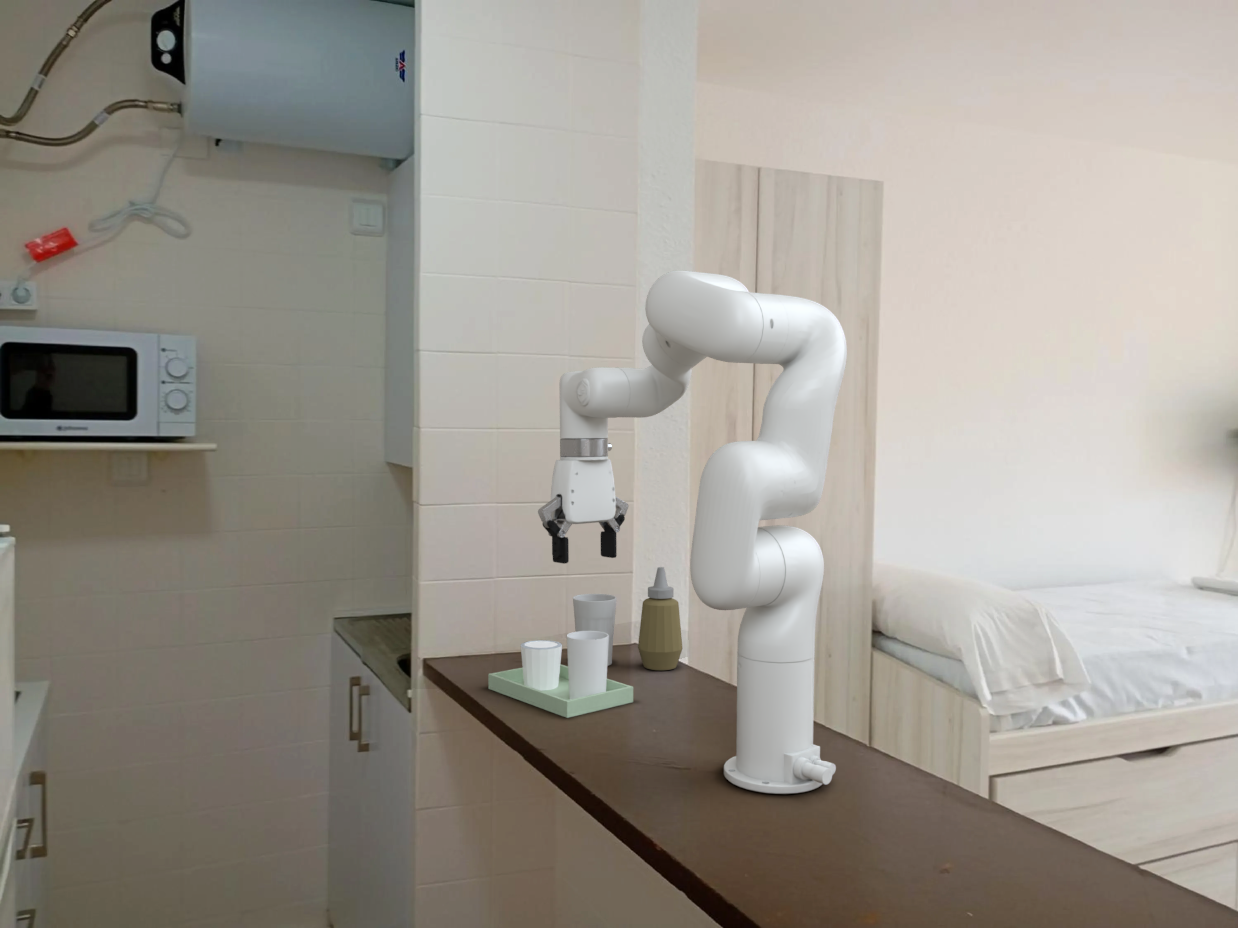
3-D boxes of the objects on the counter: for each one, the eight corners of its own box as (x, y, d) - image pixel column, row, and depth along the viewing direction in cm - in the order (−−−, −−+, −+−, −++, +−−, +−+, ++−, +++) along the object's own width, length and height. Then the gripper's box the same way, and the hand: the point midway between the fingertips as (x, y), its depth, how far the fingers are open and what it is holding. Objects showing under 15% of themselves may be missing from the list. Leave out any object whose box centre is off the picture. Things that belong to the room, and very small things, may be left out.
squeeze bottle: (653, 659, 191) (654, 562, 190) (691, 666, 186) (692, 566, 185) (628, 668, 184) (629, 568, 183) (666, 675, 179) (667, 572, 178)
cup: (618, 658, 192) (618, 594, 191) (613, 668, 184) (614, 602, 183) (575, 657, 192) (576, 593, 192) (569, 667, 184) (569, 600, 184)
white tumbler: (600, 690, 167) (600, 629, 167) (614, 701, 161) (614, 638, 161) (561, 694, 165) (561, 632, 165) (573, 705, 159) (573, 641, 158)
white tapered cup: (560, 691, 167) (560, 648, 166) (518, 691, 167) (518, 648, 166) (563, 680, 173) (563, 639, 173) (522, 680, 174) (522, 639, 173)
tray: (633, 702, 163) (633, 686, 163) (567, 718, 154) (567, 701, 154) (552, 675, 179) (552, 661, 179) (488, 688, 170) (488, 673, 170)
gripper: (610, 449, 170) (611, 553, 170) (524, 451, 158) (526, 562, 159) (641, 449, 164) (641, 557, 165) (554, 452, 153) (555, 567, 153)
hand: (585, 559), depth 162 cm, fingers open, 9 cm apart
